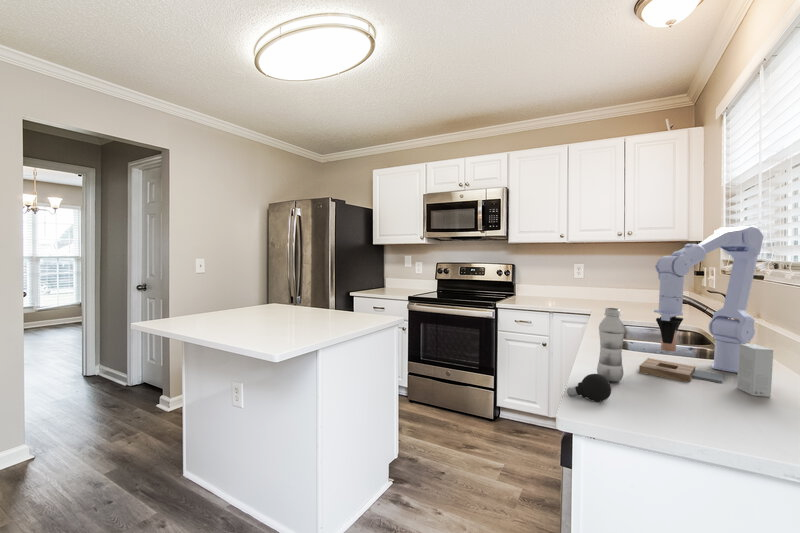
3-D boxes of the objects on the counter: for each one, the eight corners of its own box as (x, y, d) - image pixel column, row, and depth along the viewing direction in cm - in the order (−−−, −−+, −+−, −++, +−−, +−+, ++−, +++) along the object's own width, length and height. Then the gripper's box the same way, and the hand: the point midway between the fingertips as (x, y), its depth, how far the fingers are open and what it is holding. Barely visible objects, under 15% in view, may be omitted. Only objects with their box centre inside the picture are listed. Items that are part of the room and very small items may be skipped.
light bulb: (561, 374, 97) (604, 366, 93) (571, 397, 98) (613, 390, 93) (561, 388, 91) (607, 379, 87) (571, 411, 92) (617, 404, 88)
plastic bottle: (625, 380, 106) (629, 309, 106) (619, 386, 102) (622, 311, 101) (600, 375, 111) (603, 306, 110) (593, 380, 106) (596, 308, 105)
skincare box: (771, 397, 96) (774, 350, 95) (751, 395, 97) (754, 348, 96) (754, 389, 102) (757, 344, 101) (736, 387, 103) (738, 343, 102)
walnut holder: (647, 364, 123) (648, 357, 123) (694, 372, 115) (695, 366, 115) (639, 372, 114) (639, 365, 114) (689, 382, 106) (689, 375, 106)
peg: (662, 347, 117) (663, 328, 117) (676, 349, 114) (677, 329, 114) (659, 349, 114) (660, 329, 114) (674, 352, 112) (675, 331, 111)
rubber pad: (693, 371, 117) (693, 369, 117) (723, 376, 112) (723, 374, 112) (689, 377, 111) (690, 375, 111) (721, 383, 106) (721, 381, 106)
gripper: (659, 293, 122) (657, 336, 122) (649, 297, 111) (647, 343, 112) (687, 295, 117) (684, 339, 117) (679, 299, 106) (677, 348, 107)
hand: (668, 342), depth 114 cm, fingers closed on peg, 4 cm apart
